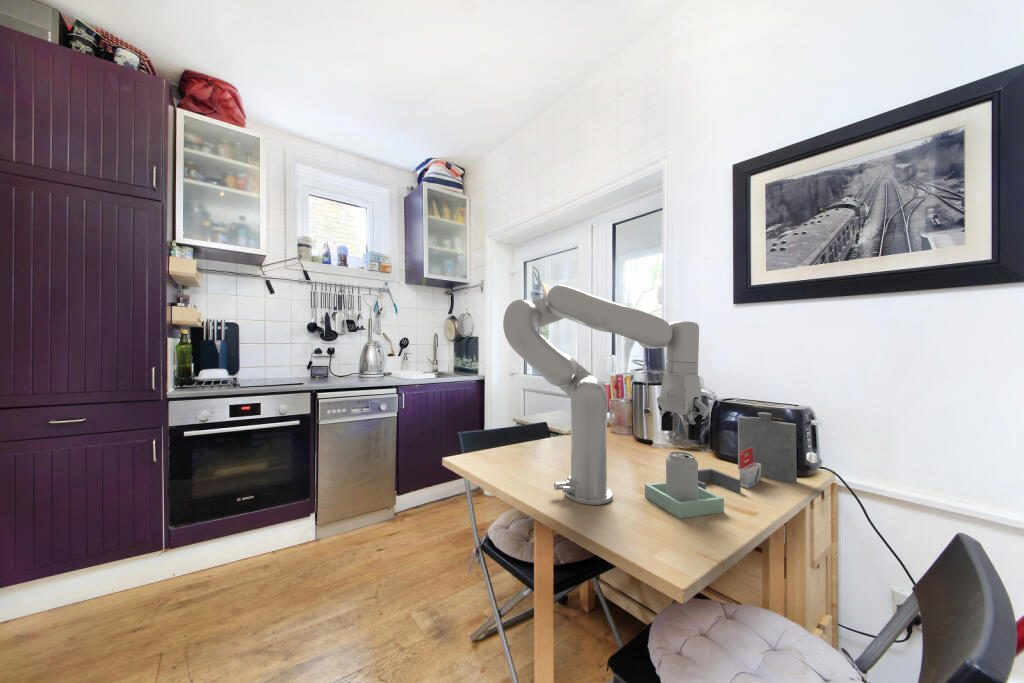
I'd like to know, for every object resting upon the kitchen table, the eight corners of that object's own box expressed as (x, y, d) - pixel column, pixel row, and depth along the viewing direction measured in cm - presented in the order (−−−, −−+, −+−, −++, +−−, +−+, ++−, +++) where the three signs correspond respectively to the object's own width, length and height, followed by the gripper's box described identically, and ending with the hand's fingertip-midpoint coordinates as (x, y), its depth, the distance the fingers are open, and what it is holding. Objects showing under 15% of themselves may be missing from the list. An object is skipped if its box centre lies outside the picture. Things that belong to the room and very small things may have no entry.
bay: (703, 497, 96) (702, 484, 96) (676, 483, 106) (676, 472, 106) (740, 492, 100) (740, 479, 100) (711, 479, 110) (711, 468, 110)
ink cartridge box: (761, 480, 110) (761, 448, 110) (748, 489, 103) (748, 454, 103) (752, 478, 112) (752, 446, 112) (738, 486, 105) (738, 452, 105)
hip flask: (798, 481, 109) (797, 415, 110) (793, 484, 107) (793, 417, 107) (740, 467, 122) (740, 408, 123) (735, 469, 120) (735, 409, 120)
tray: (680, 518, 84) (680, 504, 84) (644, 496, 97) (644, 484, 97) (723, 511, 88) (723, 498, 88) (684, 491, 100) (684, 479, 100)
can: (703, 507, 88) (703, 458, 89) (673, 506, 88) (673, 458, 89) (689, 495, 96) (689, 450, 96) (661, 494, 96) (661, 449, 96)
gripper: (648, 366, 100) (646, 427, 100) (695, 371, 84) (693, 444, 83) (670, 367, 102) (668, 427, 102) (721, 371, 86) (719, 443, 85)
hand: (679, 435), depth 93 cm, fingers open, 9 cm apart
